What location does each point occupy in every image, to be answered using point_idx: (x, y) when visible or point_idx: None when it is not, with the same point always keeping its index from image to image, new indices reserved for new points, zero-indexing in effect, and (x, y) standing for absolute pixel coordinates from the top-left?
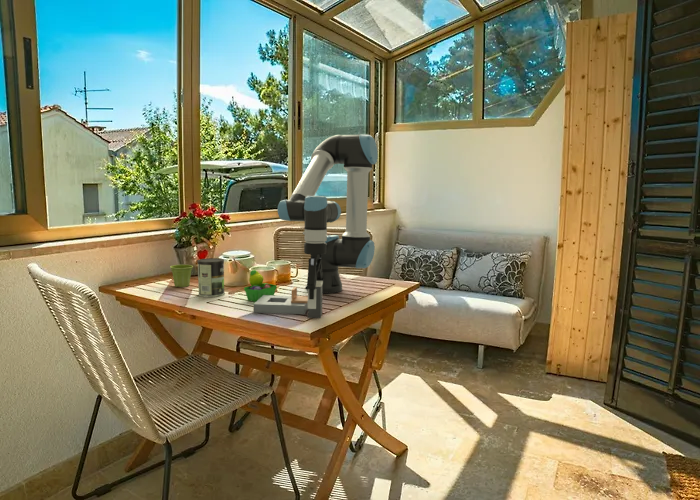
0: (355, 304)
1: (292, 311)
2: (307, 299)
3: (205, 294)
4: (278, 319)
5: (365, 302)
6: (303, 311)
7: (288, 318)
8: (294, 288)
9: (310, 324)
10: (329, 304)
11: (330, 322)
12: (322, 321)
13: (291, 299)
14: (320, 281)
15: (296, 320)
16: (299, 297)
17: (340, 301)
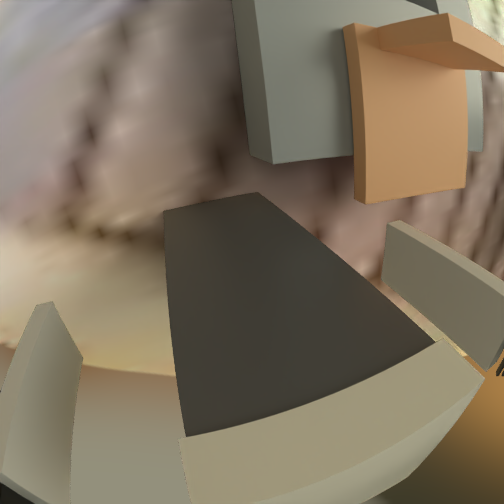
0: (433, 324)
1: (244, 61)
2: (406, 159)
3: None
4: (63, 34)
5: (446, 337)
6: (255, 149)
7: (102, 83)
8: (486, 48)
9: (36, 286)
10: (447, 233)
11: (125, 362)
12: (121, 325)
13: None
14: (370, 495)
15: (70, 164)
16: (442, 88)
17: (471, 259)
